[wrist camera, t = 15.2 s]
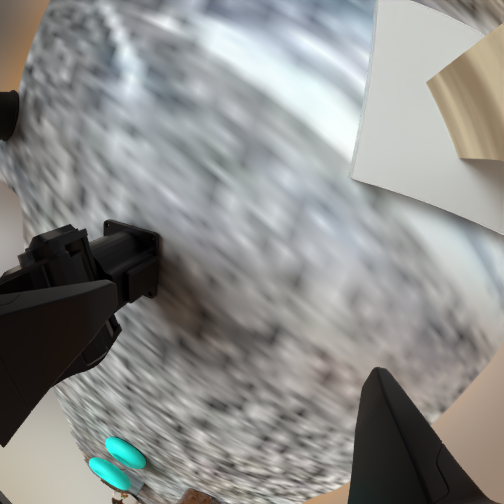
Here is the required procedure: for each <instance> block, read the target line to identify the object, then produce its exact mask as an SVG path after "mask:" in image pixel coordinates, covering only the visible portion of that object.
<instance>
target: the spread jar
mask: <svg viewBox="0 0 504 504" xmlns="http://www.w3.org/2000/svg"><path fill="white" fill-rule="evenodd" d="M112 496H113V497H112V504H138V503H139V500H138V498H137V497H136V496H135V495H131V494H125V493H119V492H116V491H115V490H114V491H113V492H112Z"/></svg>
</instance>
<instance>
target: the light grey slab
mask: <svg viewBox="0 0 504 504" xmlns="http://www.w3.org/2000/svg"><path fill="white" fill-rule="evenodd" d="M484 37H485V35H483V34H482V33H480V32H478V31H476V30H475V29H473V28H471V27H469V26H467V25H465V24H463V23H462V22H460V21H458V20H456V19H453V18H451V17H449V16H447V15H445V14H443V13H441V12H438V11H436V10H434V9H431V8H429V7H426V6H424V5H421V4H419V3H416V2H413V1H411V0H376V4H375V8H374V17H373V28H372V39H371V48H370V57H369V64H368V72H367V79H366V86H365V92H364V99H363V105H362V110H361V116H360V122H359V127H358V132H357V137H356V142H355V147H354V152H353V157H352V161H351V166H350V170H349V175H348V177H350V178H351V179H354V180H358V181H361V182H365V183H368V184H371V185H375V186H378V187H381V188H384V189H387V190H390V191H394V192H397V193H400V194H403V195H406V196H408V197H411V198H414V199H417V200H420V201H423V202H425V203H428V204H431V205H433V206H436V207H439V208H441V209H444V210H446V211H449V212H451V213H454V214H456V215H459V216H461V217H464V218H466V219H468V220H471V221H473V222H475V223H478V224H480V225H482V226H484V227H486V228H489V229H491V230H493V231H495V232H497V233H499V234H501V235H503V236H504V160H491V159H471V158H458V155H457V152H456V150H455V147H454V144H453V141H452V139H451V136H450V134H449V131H448V129H447V126H446V124H445V122H444V119H443V117H442V115H441V113H440V110H439V108H438V106H437V104H436V102H435V100H434V98H433V96H432V94H431V92H430V90H429V88H428V86H427V84H426V82H427V81H428V80H430V79H431V78H432V77H433V76H435V75H436V74H437V73H438V72H440V71H441V70H442V69H443V68H445V67H446V66H447V65H449V64H450V63H451V62H452V61H454V60H455V59H456V58H458V57H459V56H460V55H461V54H463V53H464V52H465V51H467V50H468V49H469V48H471V47H472V46H473V45H475V44H476V43H477V42H478V41H480V40H481V39H482V38H484Z"/></svg>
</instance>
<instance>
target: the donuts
mask: <svg viewBox="0 0 504 504" xmlns="http://www.w3.org/2000/svg"><path fill="white" fill-rule="evenodd" d="M105 444H106V448H107V450H108V451H109V453H110V454H111V455H112V456H113V457H114V458H115V459H117V460H118V461H119V462H121V463H122V464H124V465H126V466H128V467H130V468H134V469H142V468H144V467H145V465H146V460H145V458H144V456H143V455H142V454H141V453H140V452H139V451H138V450H137V449H135V448H134V447H133V446H131V445H130V444H128V443H127V442H125V441H123V440H121V439H119V438H116V437H109V438H107V440H106V442H105ZM89 465H90V467H91V469H92V470H93V471H94V472H95V473H96V474H97V475H99V476H100V477H101V478H102V479H104V480H105V481H107V482H108V483H110V484H111V485H113V486H115V487H117V488H119V489H121V490H128V489H130V488H131V482H130V479H129V478H128V477H127V475H126V474H125V473H123V472H122V471H121V470H120V469H118V468H117V467H116V466H114V465H113V464H111V463H110V462H108V461H106V460H104V459H101V458H96V457H95V458H91V459H90V461H89Z"/></svg>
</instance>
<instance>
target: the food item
mask: <svg viewBox="0 0 504 504" xmlns="http://www.w3.org/2000/svg"><path fill="white" fill-rule="evenodd" d="M211 498H212V497H211V496H209V495H207V494H204V493H201V492H199V491H196V490H194V489H192V488H189V489H187V490H186V492H185V493H184V495H183V496H182V498H181V499H180V500H179V501H178V502H177V504H211V502H212V499H211Z"/></svg>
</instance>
